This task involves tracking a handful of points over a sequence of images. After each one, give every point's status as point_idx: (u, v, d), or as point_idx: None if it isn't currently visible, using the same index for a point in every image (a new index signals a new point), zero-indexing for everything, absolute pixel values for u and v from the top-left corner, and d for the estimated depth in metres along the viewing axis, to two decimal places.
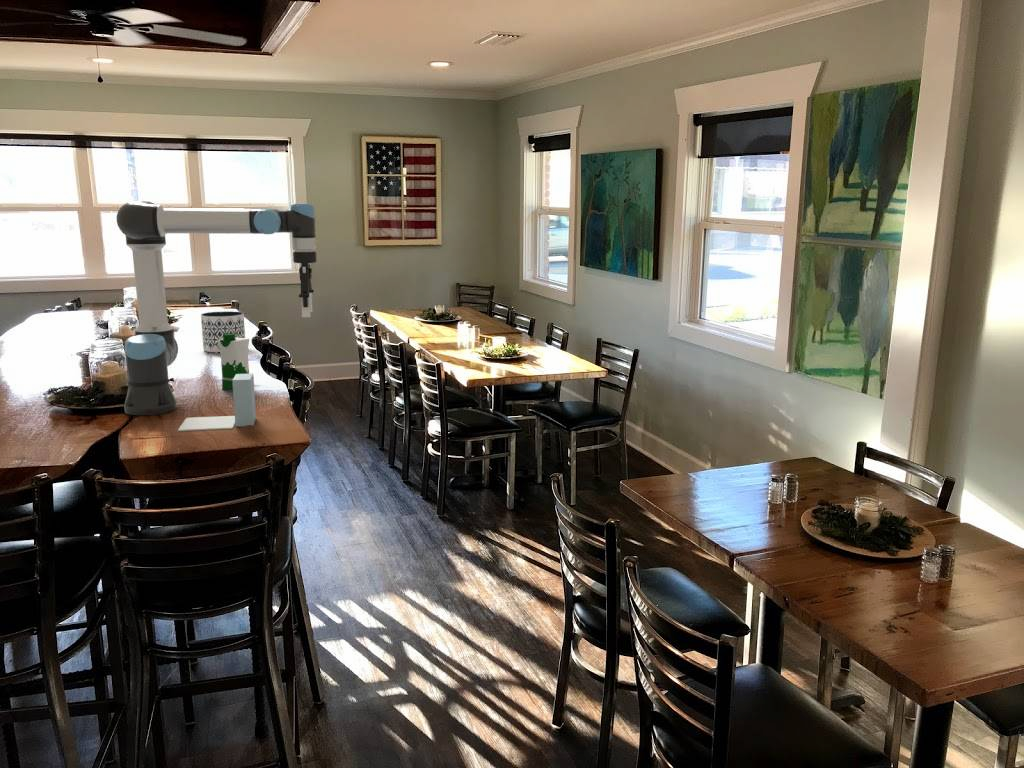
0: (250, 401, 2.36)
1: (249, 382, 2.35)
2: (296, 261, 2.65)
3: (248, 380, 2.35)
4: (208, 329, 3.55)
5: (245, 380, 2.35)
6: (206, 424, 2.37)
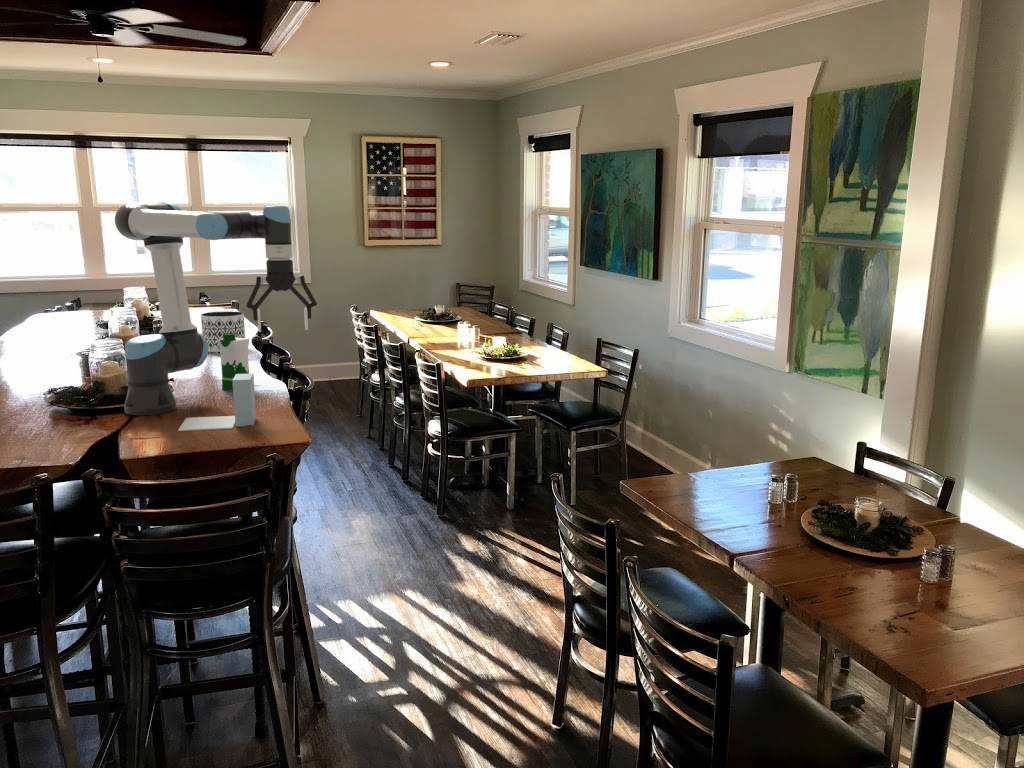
0: (250, 401, 2.36)
1: (249, 382, 2.35)
2: None
3: (248, 380, 2.35)
4: (208, 329, 3.55)
5: (245, 380, 2.35)
6: (206, 424, 2.37)
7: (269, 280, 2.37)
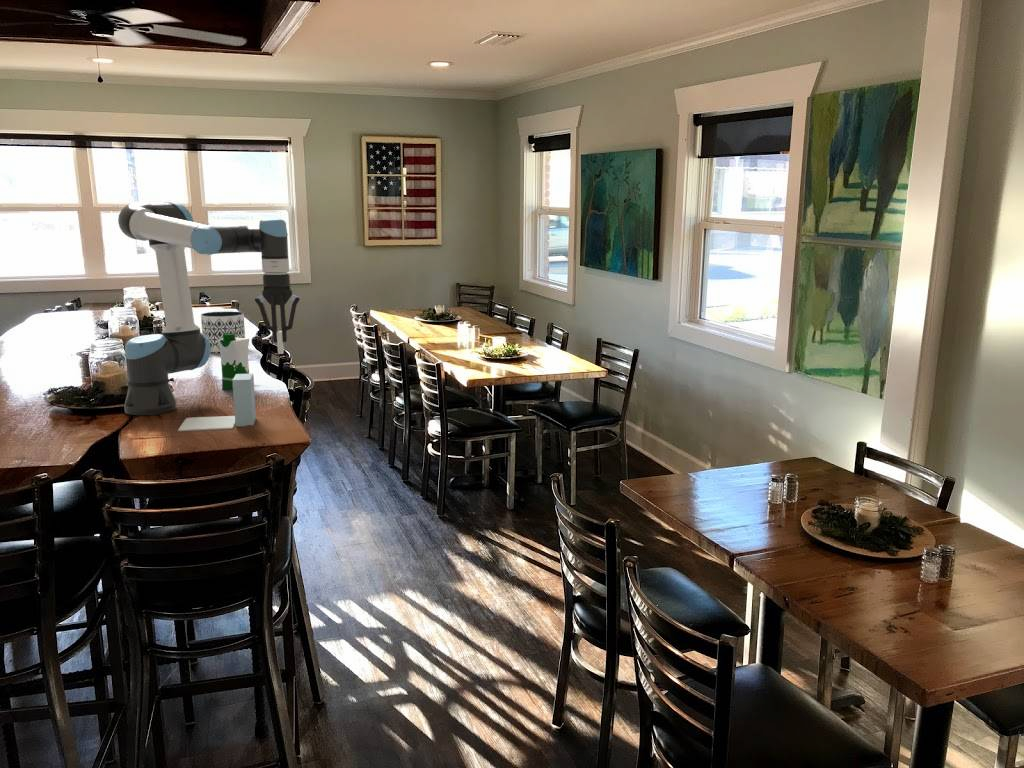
0: (250, 401, 2.36)
1: (249, 382, 2.35)
2: None
3: (248, 380, 2.35)
4: (208, 329, 3.55)
5: (245, 380, 2.35)
6: (206, 424, 2.37)
7: (265, 294, 2.34)
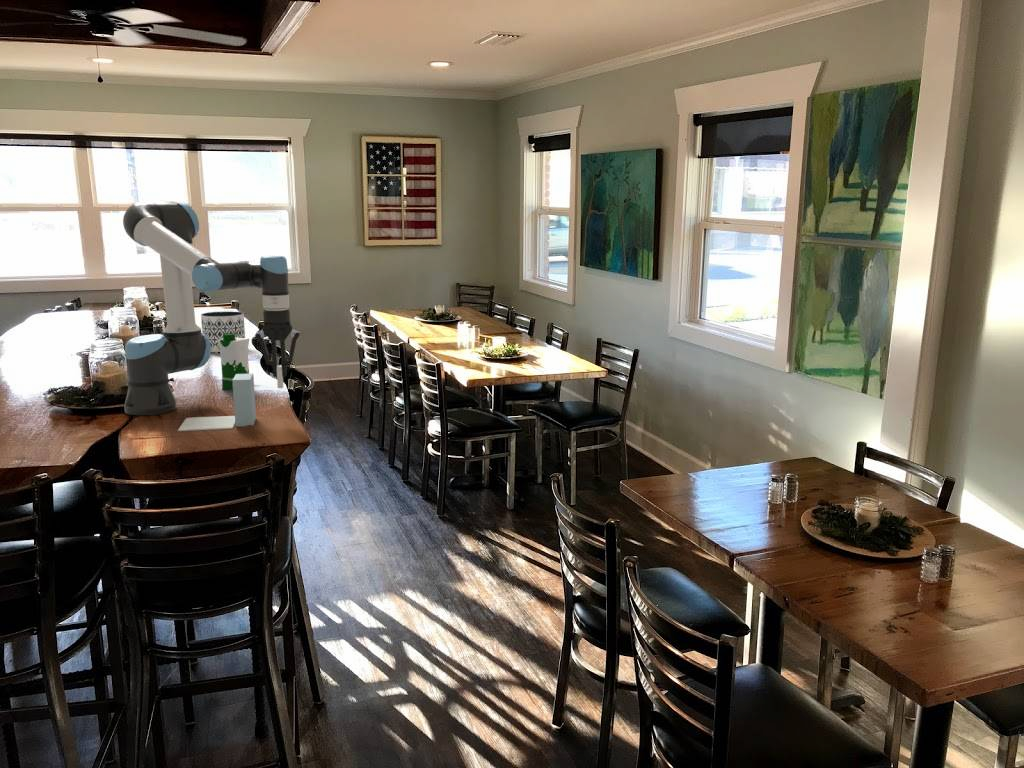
0: (250, 401, 2.36)
1: (249, 382, 2.35)
2: None
3: (248, 380, 2.35)
4: (208, 329, 3.55)
5: (245, 380, 2.35)
6: (206, 424, 2.37)
7: (265, 330, 2.36)
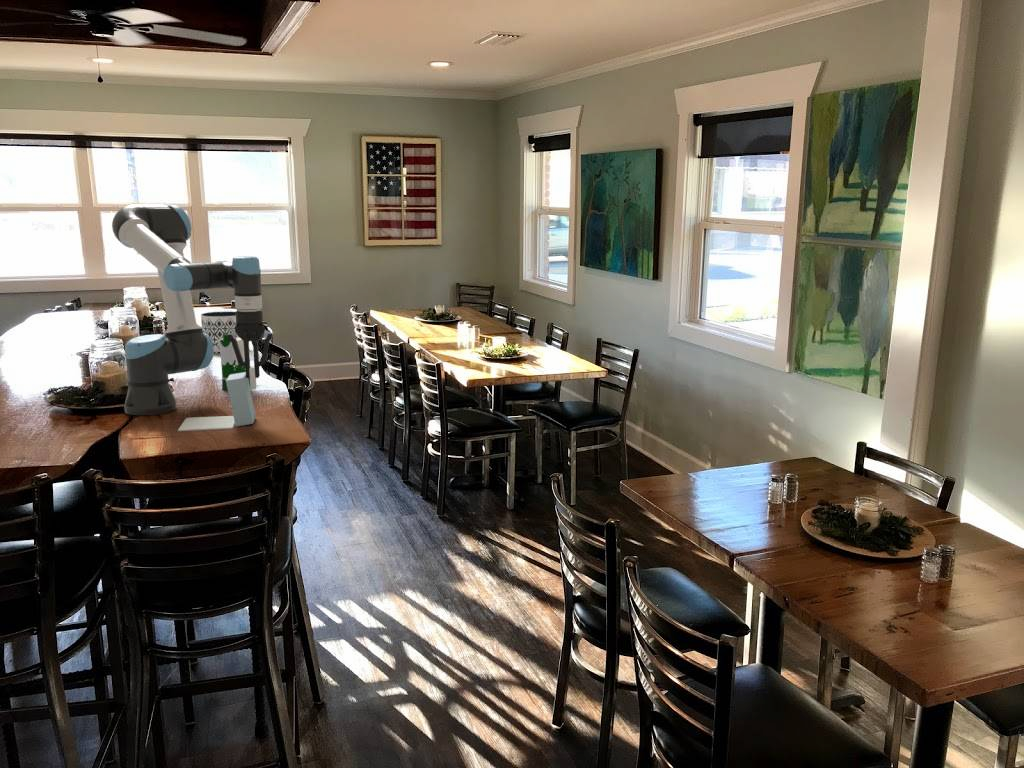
0: (246, 399, 2.36)
1: (243, 381, 2.35)
2: None
3: (241, 379, 2.35)
4: (208, 329, 3.55)
5: (238, 379, 2.35)
6: (206, 424, 2.37)
7: (238, 331, 2.35)
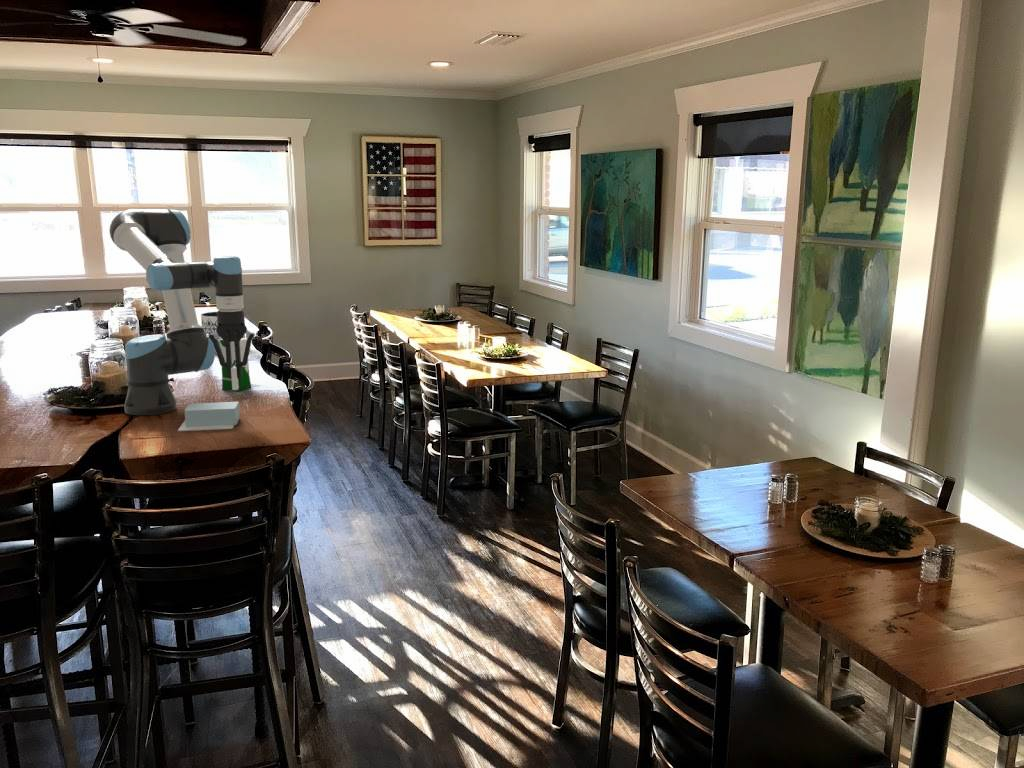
0: (208, 410, 2.34)
1: (187, 411, 2.33)
2: None
3: (185, 412, 2.33)
4: (208, 329, 3.55)
5: (185, 415, 2.33)
6: None
7: (219, 331, 2.34)
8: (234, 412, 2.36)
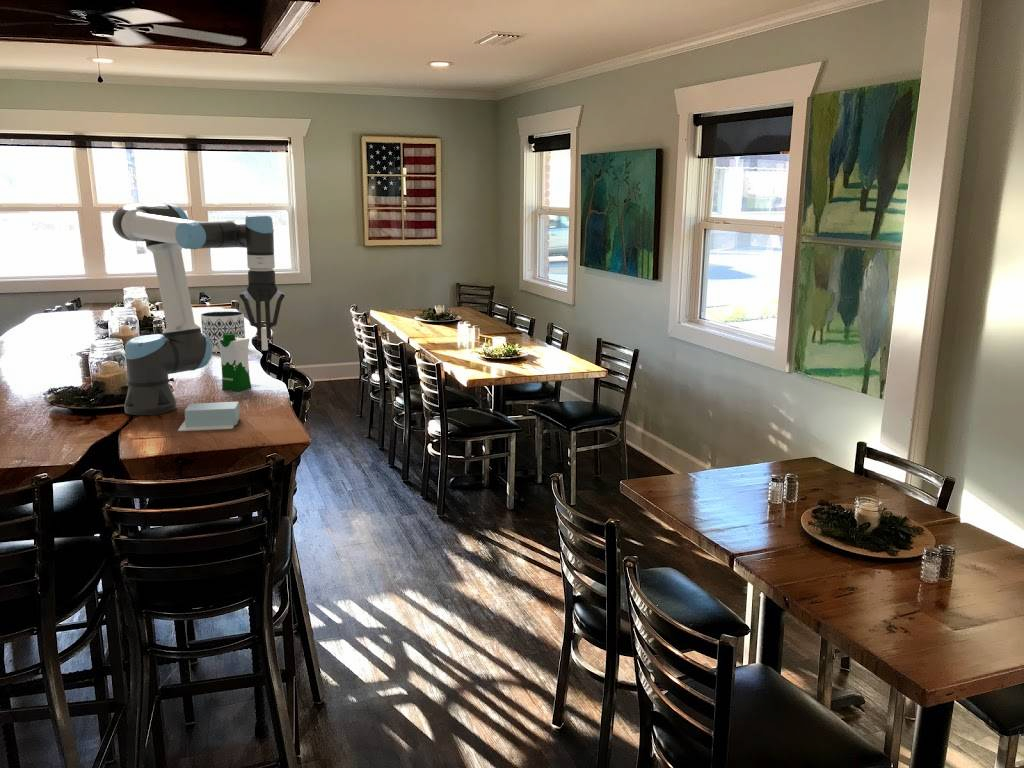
0: (208, 410, 2.34)
1: (187, 411, 2.33)
2: None
3: (185, 412, 2.33)
4: (208, 329, 3.55)
5: (185, 415, 2.33)
6: None
7: (250, 291, 2.33)
8: (234, 412, 2.36)
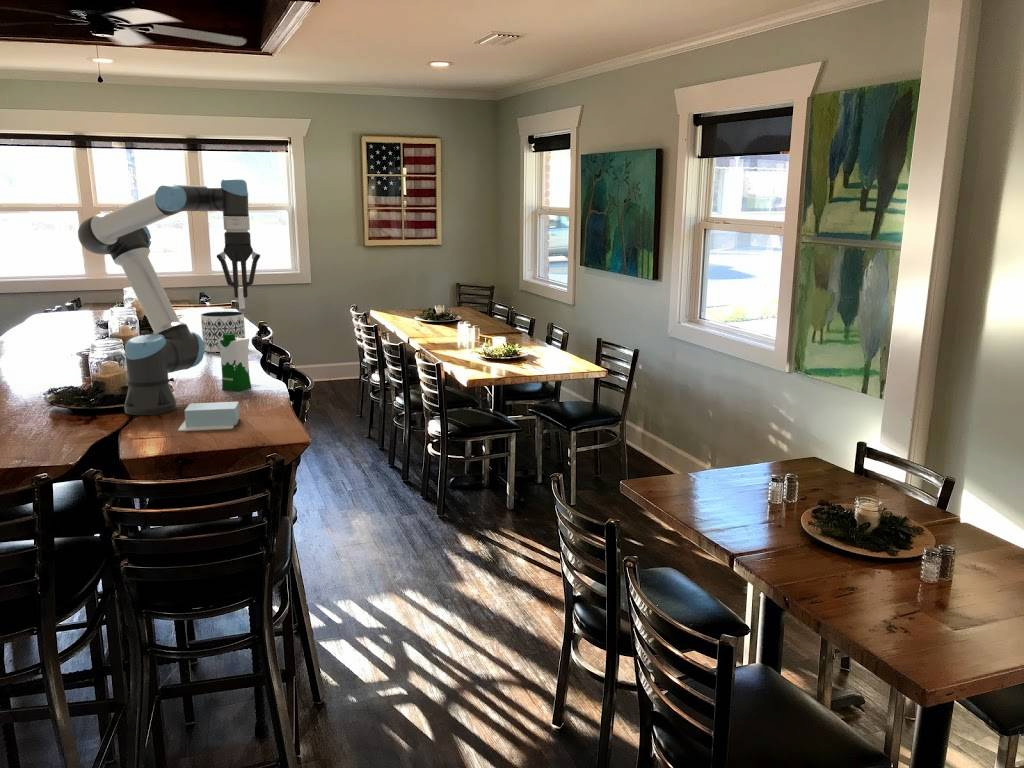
0: (208, 410, 2.34)
1: (187, 411, 2.33)
2: None
3: (185, 412, 2.33)
4: (208, 329, 3.55)
5: (185, 415, 2.33)
6: None
7: (227, 251, 2.46)
8: (234, 412, 2.36)
